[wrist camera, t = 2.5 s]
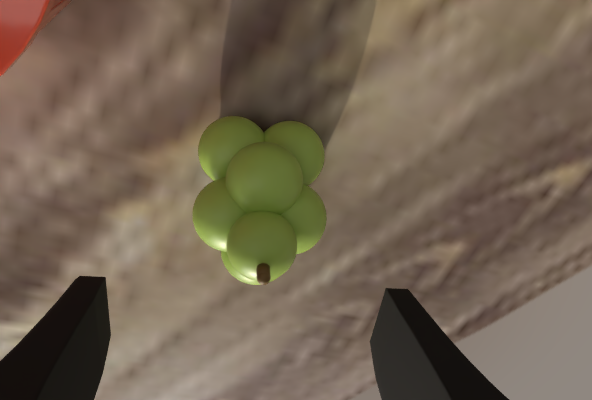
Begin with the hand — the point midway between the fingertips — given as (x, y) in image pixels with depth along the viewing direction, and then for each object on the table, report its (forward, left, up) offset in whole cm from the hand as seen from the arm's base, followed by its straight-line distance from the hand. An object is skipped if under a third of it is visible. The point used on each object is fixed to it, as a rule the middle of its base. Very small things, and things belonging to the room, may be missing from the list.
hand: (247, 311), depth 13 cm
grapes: (0, 0, -8) cm, 8 cm away
